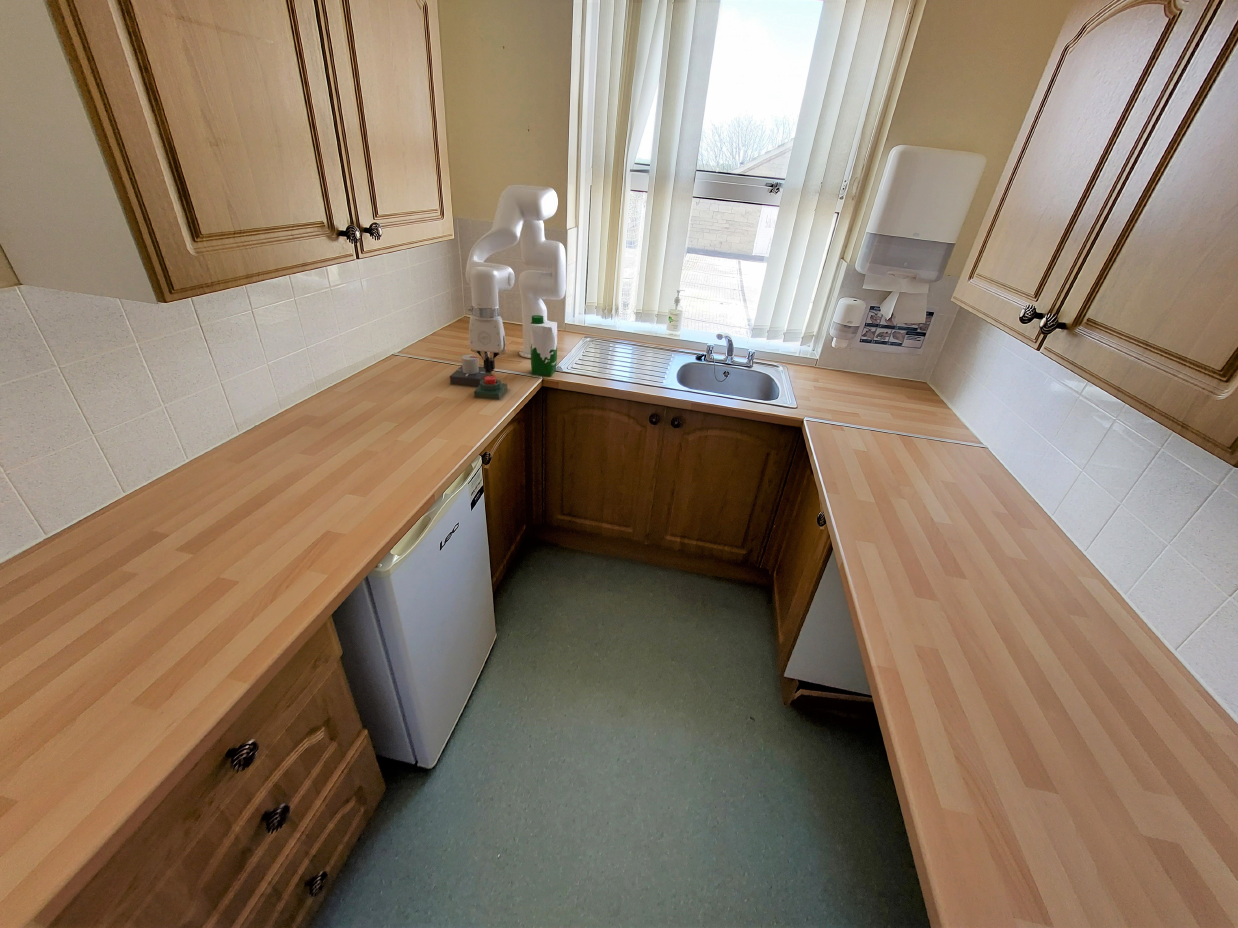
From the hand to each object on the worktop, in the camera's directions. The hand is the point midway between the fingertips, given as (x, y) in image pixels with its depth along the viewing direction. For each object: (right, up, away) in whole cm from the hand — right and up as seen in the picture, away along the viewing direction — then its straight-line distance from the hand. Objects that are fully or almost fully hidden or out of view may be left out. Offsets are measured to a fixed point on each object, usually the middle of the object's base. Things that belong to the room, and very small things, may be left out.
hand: (489, 371), depth 152 cm
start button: (0, -3, +2) cm, 4 cm away
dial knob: (-9, +2, +11) cm, 15 cm away
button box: (0, -6, +4) cm, 8 cm away
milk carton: (+13, +4, +24) cm, 28 cm away
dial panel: (-10, 0, +13) cm, 16 cm away
